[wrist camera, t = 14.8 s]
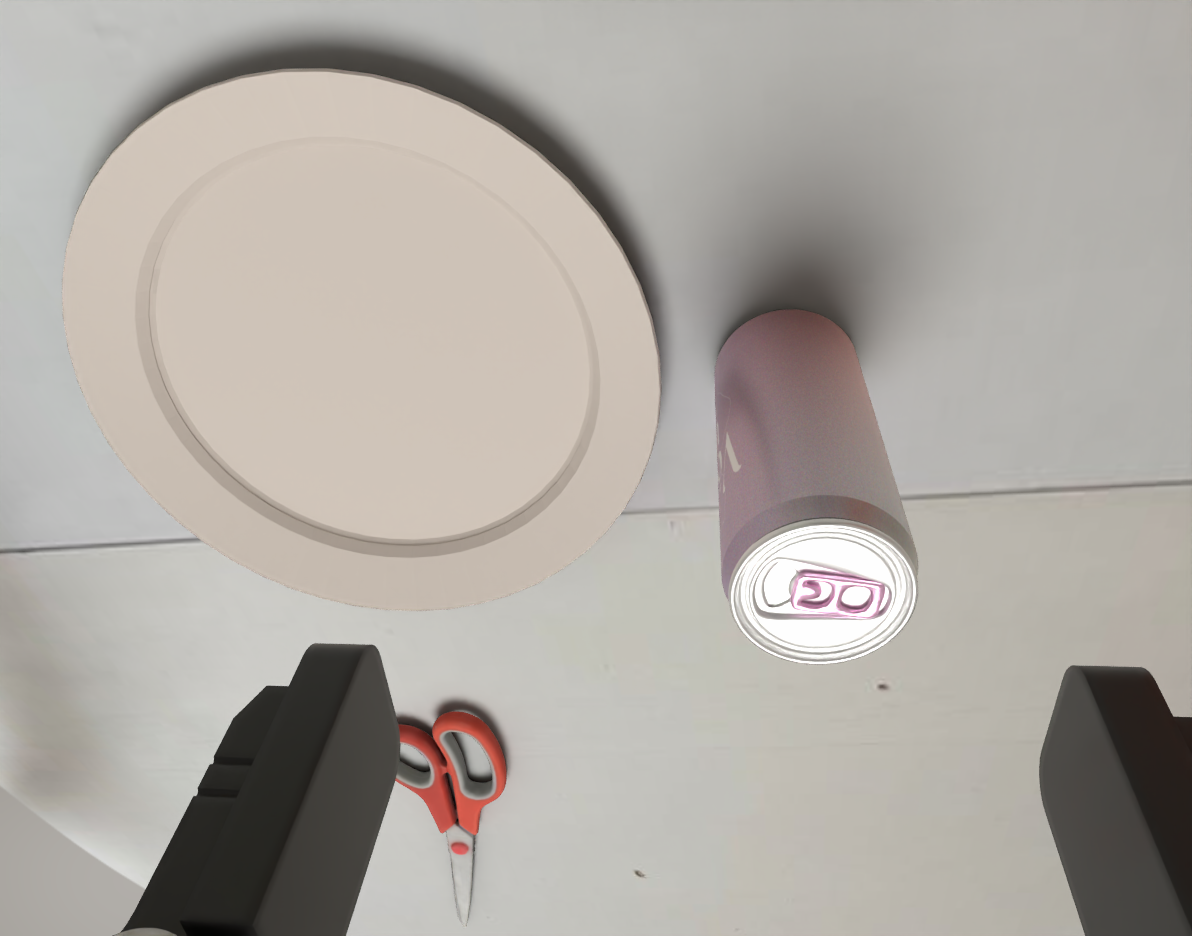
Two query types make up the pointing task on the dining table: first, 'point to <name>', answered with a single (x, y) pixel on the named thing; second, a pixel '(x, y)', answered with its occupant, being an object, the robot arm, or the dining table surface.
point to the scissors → (466, 791)
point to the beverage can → (807, 495)
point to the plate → (361, 339)
